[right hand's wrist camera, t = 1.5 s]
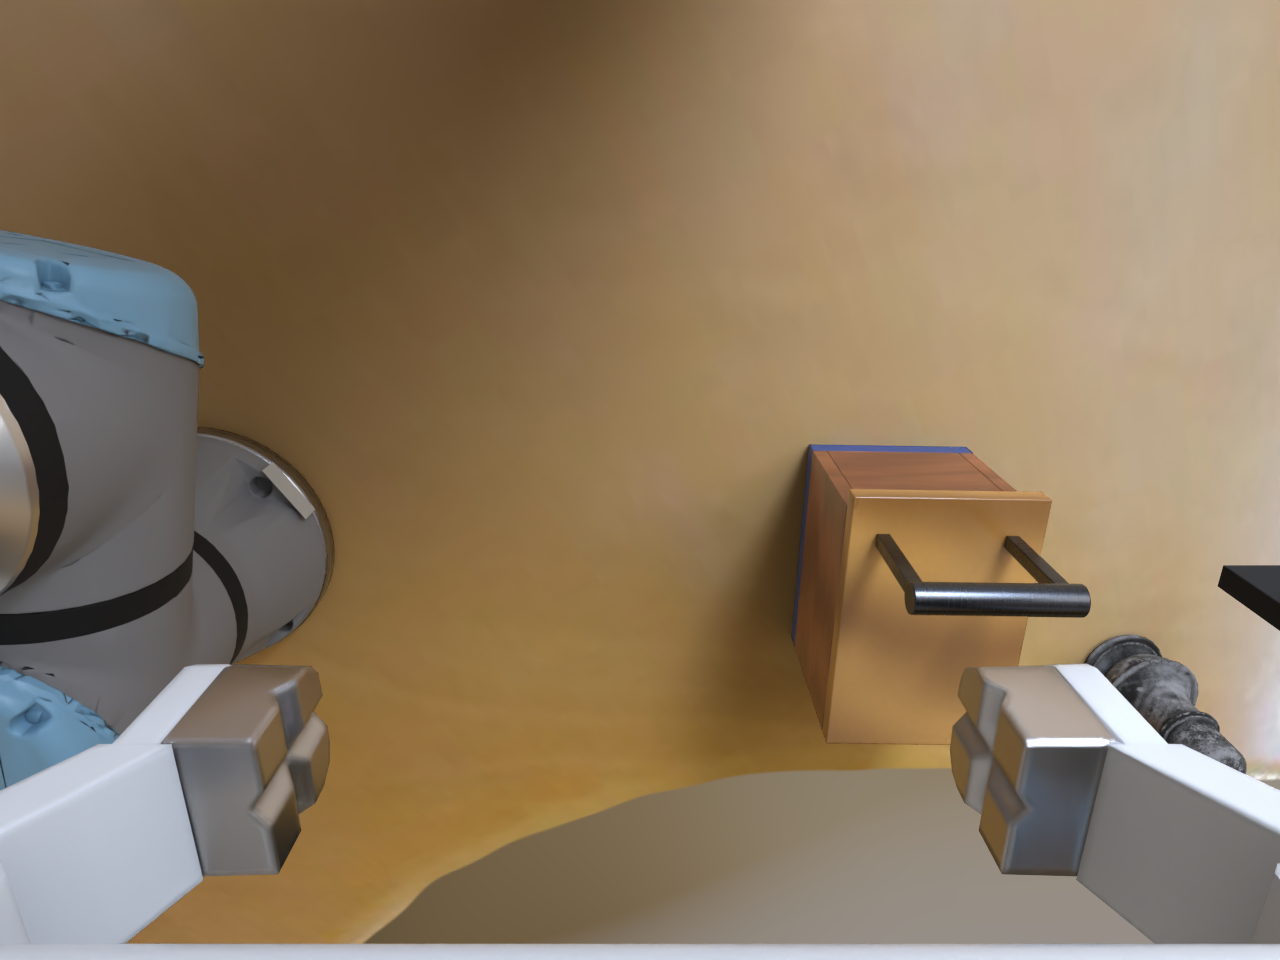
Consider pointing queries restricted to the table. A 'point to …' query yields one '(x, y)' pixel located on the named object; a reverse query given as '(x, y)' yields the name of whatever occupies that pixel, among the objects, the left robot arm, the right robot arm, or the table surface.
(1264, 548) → the table surface
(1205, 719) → the grey chess piece
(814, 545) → the chest
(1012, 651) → the lid
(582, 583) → the table surface
